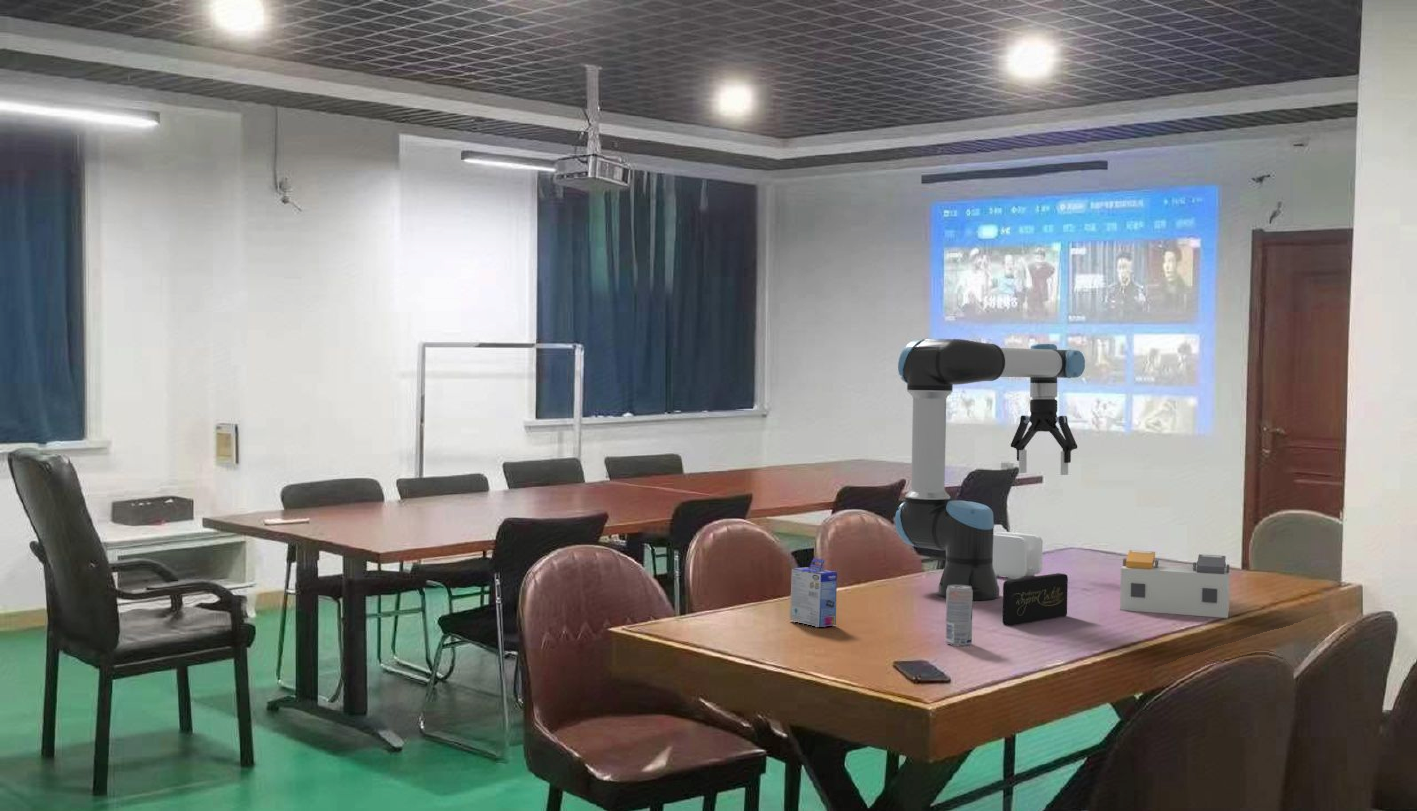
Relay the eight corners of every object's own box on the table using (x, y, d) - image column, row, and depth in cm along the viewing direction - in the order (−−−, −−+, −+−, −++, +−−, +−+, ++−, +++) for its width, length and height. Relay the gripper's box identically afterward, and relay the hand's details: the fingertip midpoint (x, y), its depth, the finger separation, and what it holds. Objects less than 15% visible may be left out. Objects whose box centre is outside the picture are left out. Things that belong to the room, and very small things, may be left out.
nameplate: (1009, 626, 303) (1009, 582, 302) (1002, 625, 304) (1003, 580, 304) (1067, 616, 316) (1067, 573, 315) (1060, 615, 317) (1061, 572, 317)
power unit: (1124, 603, 334) (1125, 555, 333) (1228, 610, 324) (1230, 562, 324) (1120, 609, 324) (1121, 561, 324) (1227, 618, 315) (1228, 568, 314)
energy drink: (968, 641, 285) (969, 584, 285) (974, 646, 280) (975, 588, 280) (943, 641, 285) (944, 584, 285) (948, 646, 280) (949, 588, 280)
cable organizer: (976, 574, 377) (976, 532, 377) (996, 570, 385) (997, 529, 385) (1023, 581, 367) (1024, 538, 367) (1043, 576, 375) (1044, 534, 374)
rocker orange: (1128, 556, 332) (1128, 549, 332) (1155, 557, 330) (1156, 551, 329) (1125, 567, 325) (1125, 560, 325) (1153, 569, 322) (1153, 562, 322)
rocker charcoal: (1197, 560, 326) (1197, 553, 326) (1226, 562, 323) (1226, 555, 323) (1195, 571, 319) (1195, 565, 318) (1225, 573, 316) (1225, 566, 316)
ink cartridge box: (837, 626, 300) (838, 561, 300) (819, 629, 297) (820, 563, 296) (806, 619, 308) (807, 555, 308) (789, 622, 304) (789, 557, 304)
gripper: (1090, 398, 376) (1089, 475, 376) (1013, 398, 395) (1013, 471, 394) (1075, 398, 371) (1075, 475, 371) (998, 398, 389) (998, 472, 389)
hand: (1043, 473), depth 383 cm, fingers open, 13 cm apart
